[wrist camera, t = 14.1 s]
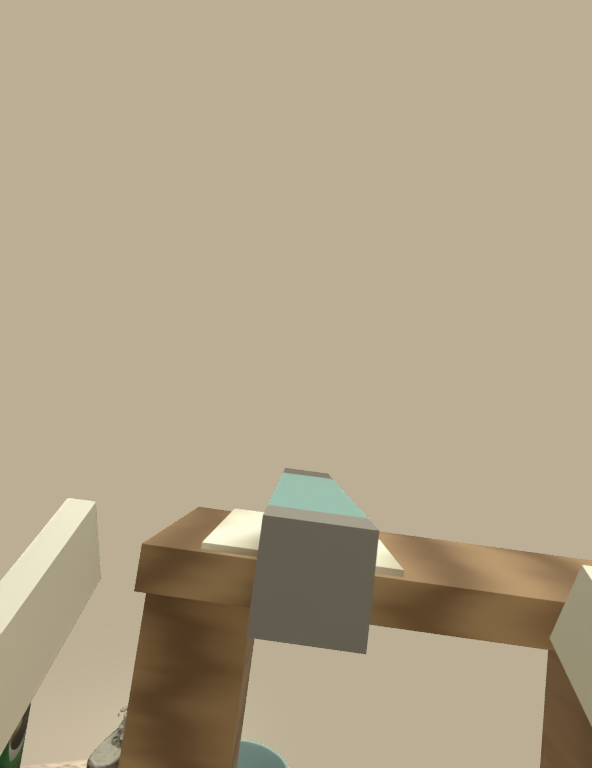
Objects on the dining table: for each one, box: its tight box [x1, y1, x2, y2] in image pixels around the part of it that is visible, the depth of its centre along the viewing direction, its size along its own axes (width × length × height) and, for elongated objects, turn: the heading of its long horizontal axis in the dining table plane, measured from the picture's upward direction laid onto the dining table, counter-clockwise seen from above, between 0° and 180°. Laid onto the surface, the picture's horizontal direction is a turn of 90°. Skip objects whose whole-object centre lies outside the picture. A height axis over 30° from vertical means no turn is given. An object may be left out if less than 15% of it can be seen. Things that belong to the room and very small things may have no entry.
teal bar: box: [246, 468, 379, 654], centre depth 23 cm, size 3×22×3 cm, turn 0°
